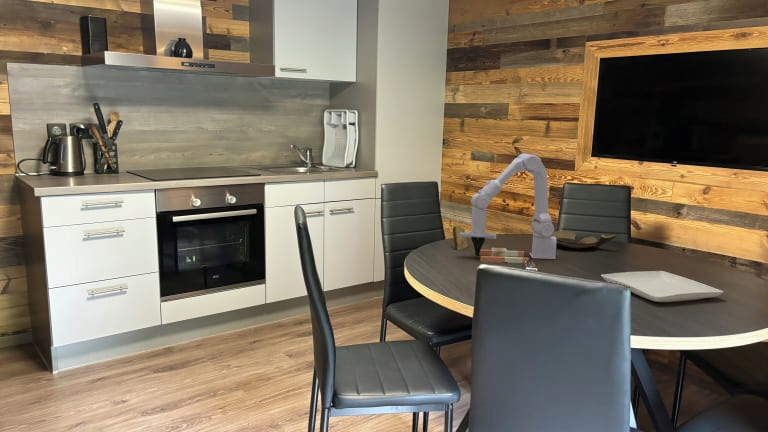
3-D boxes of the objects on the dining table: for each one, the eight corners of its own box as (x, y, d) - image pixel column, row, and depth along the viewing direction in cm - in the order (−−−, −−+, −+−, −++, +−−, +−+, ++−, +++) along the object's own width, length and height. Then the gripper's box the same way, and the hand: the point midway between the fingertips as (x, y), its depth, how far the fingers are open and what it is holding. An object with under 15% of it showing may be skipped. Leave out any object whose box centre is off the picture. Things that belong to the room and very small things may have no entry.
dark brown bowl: (561, 239, 273) (562, 223, 272) (620, 250, 251) (621, 233, 249) (533, 244, 259) (534, 228, 258) (593, 257, 236) (595, 239, 235)
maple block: (505, 257, 234) (506, 248, 233) (506, 261, 228) (507, 251, 227) (491, 256, 235) (491, 247, 234) (491, 260, 229) (492, 250, 228)
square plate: (724, 301, 181) (726, 290, 181) (655, 308, 174) (656, 296, 173) (661, 279, 207) (662, 268, 206) (598, 283, 199) (599, 273, 198)
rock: (464, 238, 258) (445, 237, 253) (473, 226, 252) (454, 224, 248) (472, 257, 251) (453, 255, 246) (481, 244, 245) (461, 243, 241)
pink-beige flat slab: (523, 255, 237) (523, 251, 236) (528, 263, 224) (529, 258, 224) (477, 254, 238) (478, 249, 238) (480, 261, 225) (480, 256, 225)
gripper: (461, 224, 226) (459, 256, 228) (497, 225, 225) (496, 258, 227) (460, 221, 233) (459, 252, 235) (495, 222, 232) (494, 254, 234)
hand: (477, 255), depth 232 cm, fingers closed
